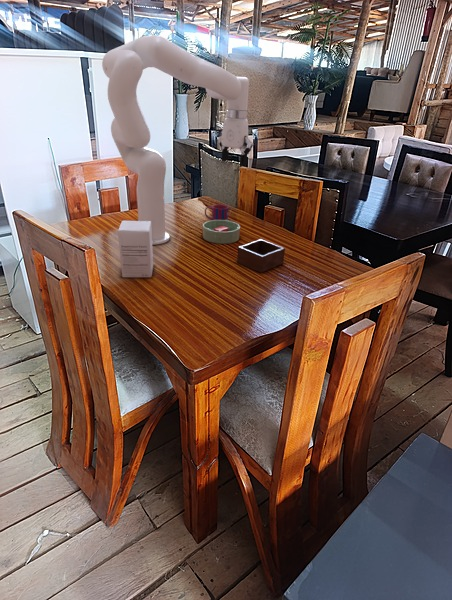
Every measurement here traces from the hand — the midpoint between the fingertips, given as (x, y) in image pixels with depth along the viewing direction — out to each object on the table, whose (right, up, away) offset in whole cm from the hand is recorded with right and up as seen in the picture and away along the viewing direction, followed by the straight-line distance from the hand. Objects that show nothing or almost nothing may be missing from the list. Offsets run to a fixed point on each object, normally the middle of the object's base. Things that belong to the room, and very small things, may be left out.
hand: (233, 163), depth 156 cm
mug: (-7, -21, +14) cm, 26 cm away
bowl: (-5, -29, -2) cm, 30 cm away
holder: (+8, -41, -22) cm, 47 cm away
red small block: (-5, -29, -2) cm, 29 cm away
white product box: (-30, -45, -32) cm, 63 cm away
